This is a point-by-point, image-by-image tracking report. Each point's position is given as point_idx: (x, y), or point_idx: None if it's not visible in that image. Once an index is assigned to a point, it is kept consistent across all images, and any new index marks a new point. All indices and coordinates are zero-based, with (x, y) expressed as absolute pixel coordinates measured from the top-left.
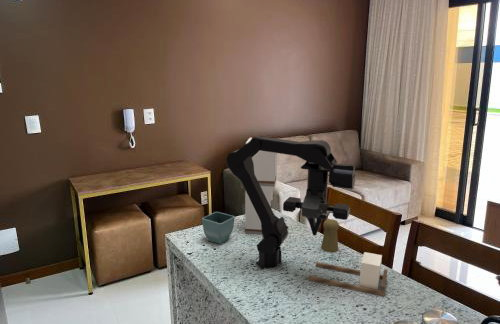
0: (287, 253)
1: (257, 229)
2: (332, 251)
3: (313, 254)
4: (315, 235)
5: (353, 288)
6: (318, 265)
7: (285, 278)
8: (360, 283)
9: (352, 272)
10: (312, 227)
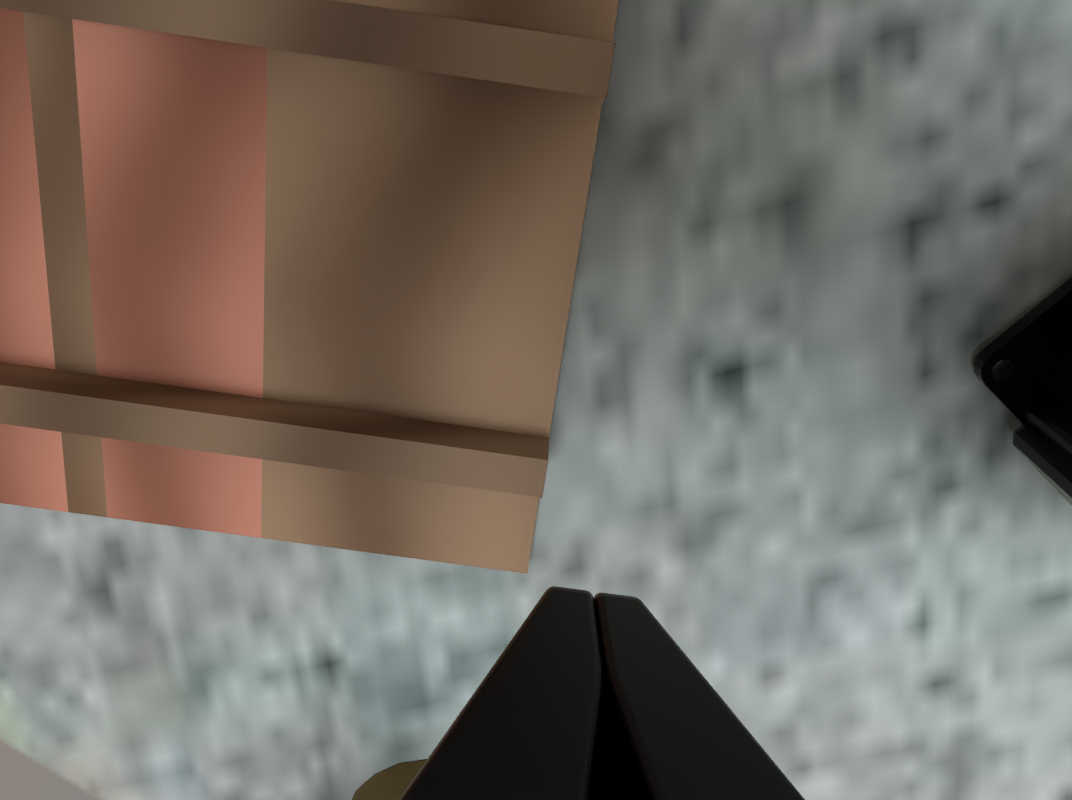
0: (909, 683)
1: None
2: (394, 792)
3: None
4: (557, 588)
5: None
6: (514, 445)
7: (940, 67)
8: None
9: (75, 383)
10: (713, 794)
